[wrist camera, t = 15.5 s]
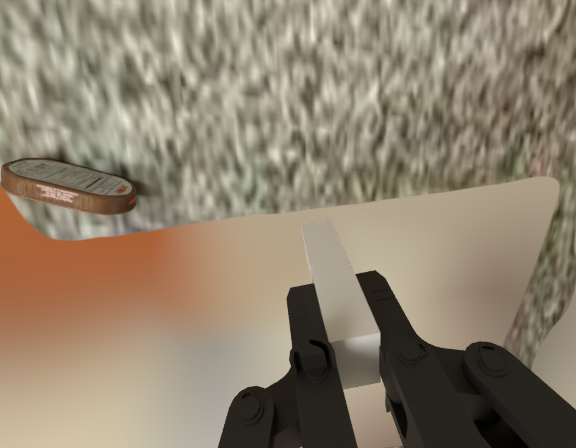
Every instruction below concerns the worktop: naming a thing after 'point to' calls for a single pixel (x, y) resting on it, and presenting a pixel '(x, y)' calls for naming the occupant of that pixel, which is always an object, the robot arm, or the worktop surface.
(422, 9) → the worktop surface
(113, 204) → the tin
